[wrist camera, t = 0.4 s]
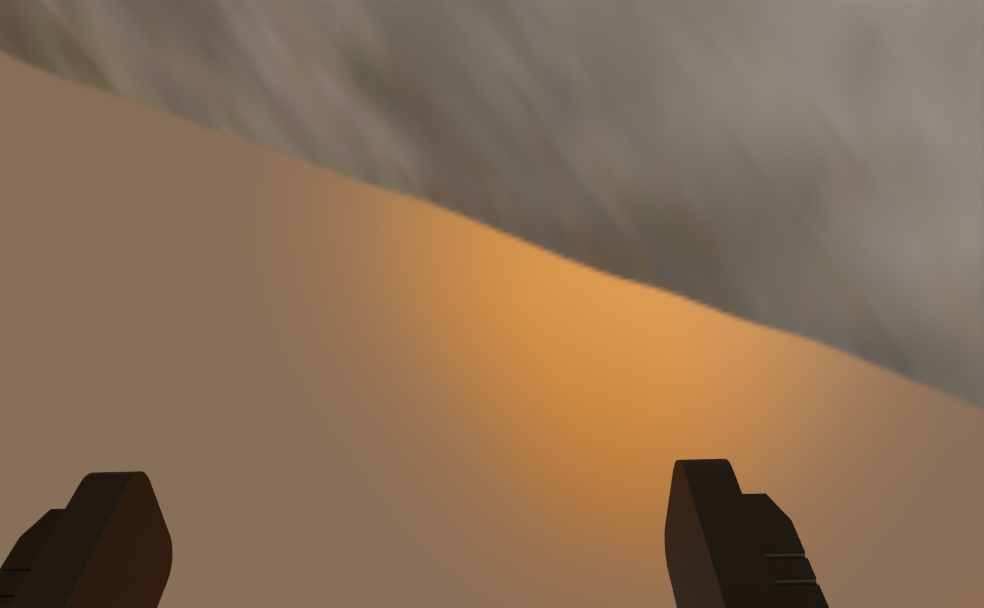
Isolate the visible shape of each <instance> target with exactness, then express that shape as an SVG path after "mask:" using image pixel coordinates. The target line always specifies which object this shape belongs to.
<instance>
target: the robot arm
mask: <svg viewBox="0 0 984 608" xmlns="http://www.w3.org/2000/svg"><path fill="white" fill-rule="evenodd" d="M665 553H666V561H667V567H668V572H669V576H670V580H671V584H672V588H673V592H674V597H675V601H676V605H677V608H829V607H828V604H827V602H826V600H825V598H824V595H823V593H822V591H821V588H820V586H819V585H817V583H816V577H815V574H814V572H813V570H812V567H811V565H810V563H809V560H808V558H805V551H804V549H803V547H802V544H801V542H800V539H799V537H798V535H797V532H796V530H795V528H794V525H793V523H792V521H791V520H790V518H789V517H788V516H787V515H786V514H785V513H784V512H783V511H782V510H780V508H779V507H778V506H777V505H776V504H775V503H774V502H773V501H772V500H771V499H770V498H769V496H767V494H742V492H741V490H740V487H739V484H738V482H737V479H736V476H735V474H734V471H733V468H732V466H731V464H730V462H729V461H728V460H727V459H701V460H700V459H698V460H677V461H676V462H675V465H674V469H673V476H672V483H671V490H670V497H669V504H668V510H667V517H666V524H665ZM171 565H172V542H171V537H170V534H169V532H168V529H167V526H166V523H165V521H164V518H163V515H162V512H161V510H160V507H159V505H158V502H157V499H156V496H155V493H154V491H153V488H152V486H151V483H150V480H149V478H148V476H147V475H146V474H145V473H144V472H141V471H139V472H101V473H99V472H98V473H90V474H88V475H87V476H85V478H84V479H83V480H82V481H81V483H80V484H79V486H78V488H77V489H76V491H75V493H74V495H73V496H72V498H71V500H70V502H69V503H68V505H67V507H66V509H51V510H49V511H48V512H47V513H46V514H45V515H44V516H43V517H42V518H41V519H39V520H38V521H37V522H36V523H35V524H34V525H33V526H32V527H31V528H30V529H28V530H27V531H26V532H25V533H24V534H23V535H22V536H21V537H20V538H19V539H18V541H17V542H16V544H15V546H14V547H13V549H12V550H11V552H10V554H9V555H8V557H7V558H6V560H5V562H4V563H3V565H2V567H1V568H0V608H157V606H158V604H159V601H160V599H161V596H162V593H163V591H164V588H165V586H166V584H167V581H168V578H169V575H170V570H171Z"/></svg>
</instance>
